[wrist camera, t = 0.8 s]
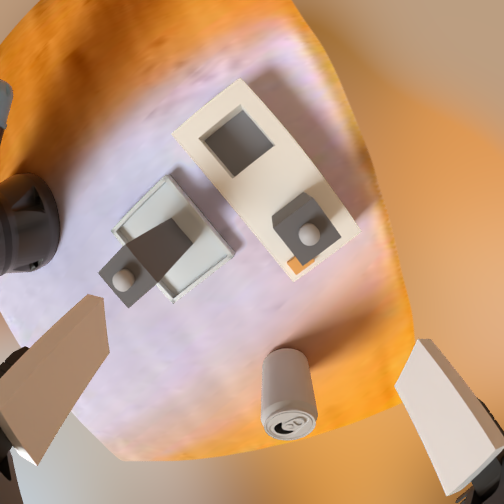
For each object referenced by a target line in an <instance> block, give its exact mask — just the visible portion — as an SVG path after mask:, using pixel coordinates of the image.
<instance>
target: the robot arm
mask: <svg viewBox="0 0 504 504" xmlns="http://www.w3.org/2000/svg"><path fill="white" fill-rule="evenodd" d="M12 100H13V90H12V87H11V86H10V85H9V84H8V83H7V82H5V81H3V80H1V79H0V144H1V140H2V137H3V133H4V129H6V127H7V124H6V122H7V118H8V114H9V110H10V107H11V103H12ZM58 241H59V216H58V210H57V206H56V203H55V200H54V197H53V195H52V193H51V191H50V189H49V187H48V186H47V184H46V183H45V182H44V181H43V180H42V179H41V178H40V177H38V176H37V175H35V174H32V173H22V174H16V175H13V176H11V177H9V178H7V179H6V180H4V181H3V182H1V183H0V276H1V275H3V274H5V273H20V272H32V271H35V270H38V269H39V268H41V267H43V266H45V265H46V264H48V263H49V262H50V260H51V259H52V258H53V256H54V254H55V252H56V249H57V245H58ZM109 353H110V352H109V345H108V337H107V329H106V321H105V311H104V299H103V298H101V297H97V296H93V295H89V294H87V295H86V296H85V297H84V298H83V299H82V300H81V301H80V302H78V303H77V304H76V305H75V306H74V307H73V308H72V309H71V310H70V311H68V312H67V313H66V314H65V315H64V316H63V317H62V318H61V319H60V320H59V321H58V322H56V323H55V324H54V325H53V326H52V327H51V328H50V329H49V330H48V331H47V332H46V333H45V334H44V335H43V336H42V337H41V338H40V339H39V340H38V341H37V342H35V343H34V344H33V345H32V346H31V347H30V348H28V347H26V346H25V347H23V348H21V349H19V350H17V351H15V352H13V353H12V354H11V355H10V356H9V357H8V358H7V359H6V360H5V363H4V362H3V363H2V364H1V365H0V504H23V501H22V497H21V494H20V490H19V486H18V482H17V478H16V473H15V469H14V464H13V459H12V455H11V453H10V451H9V450H10V449H11V447H12V446H13V447H14V448H15V449H16V451H17V452H18V453H19V455H20V456H22V457H23V458H25V459H27V460H28V461H30V462H32V463H33V464H35V465H36V466H38V464H39V463H40V461H41V459H42V457H43V456H44V454H45V452H46V451H47V449H48V447H49V445H50V444H51V442H52V440H53V439H54V437H55V435H56V434H57V432H58V430H59V429H60V427H61V426H62V424H63V422H64V421H65V419H66V418H67V416H68V414H69V413H70V411H71V410H72V408H73V406H74V405H75V403H76V402H77V400H78V399H79V397H80V396H81V394H82V393H83V391H84V390H85V388H86V387H87V385H88V383H89V382H90V380H91V379H92V378H93V376H94V375H95V373H96V372H97V370H98V369H99V367H100V366H101V364H102V363H103V361H104V360H105V358H106V357H107V356H108V354H109ZM395 388H396V390H397V392H398V394H399V396H400V398H401V400H402V402H403V404H404V406H405V407H406V410H407V411H408V413H409V415H410V418H411V419H412V421H413V424H414V426H415V428H416V430H417V432H418V434H419V436H420V438H421V440H422V442H423V444H424V446H425V449H426V451H427V453H428V455H429V457H430V459H431V462H432V464H433V466H434V468H435V471H436V473H437V475H438V477H439V480H440V482H441V484H442V487H443V489H444V492H445V494H446V496H448V495H451V494H453V493H455V492H458V491H460V490H462V489H463V488H464V487H465V486H466V485H467V484H469V482H472V484H473V486H471V487H470V489H468V490H467V491H466V492H465V493H463V494H462V495H461V496H460V497H458V498H457V500H456V503H458V502H459V501H460V500H462V499H463V498H464V497H466V499H464V500H463V501H462V502H461V503H460V504H504V431H503V430H502V428H501V427H500V425H499V424H498V422H497V421H496V420H494V417H493V415H492V414H491V413H490V411H489V410H488V408H487V407H486V405H485V404H484V403H483V402H482V401H481V400H479V399H478V398H477V397H476V396H475V395H474V393H473V392H472V391H471V390H470V388H469V387H468V385H467V384H466V383H465V381H464V380H463V379H462V377H461V376H460V375H459V374H458V373H457V371H456V370H455V369H454V367H453V366H452V365H451V364H450V362H449V361H448V360H447V359H446V357H445V356H444V355H443V354H442V353H441V351H440V350H439V349H438V348H437V346H436V345H435V344H434V343H433V342H432V340H431V339H417V342H416V344H415V346H414V348H413V350H412V352H411V355H410V357H409V359H408V361H407V363H406V365H405V367H404V369H403V371H402V373H401V375H400V377H399V378H398V380H397V382H396V384H395Z"/></svg>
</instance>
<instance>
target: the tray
mask: <svg viewBox="0 0 504 504" xmlns="http://www.w3.org/2000/svg"><path fill="white" fill-rule="evenodd" d="M170 218H172V219H173V220H174V221H175V223H176V224H177V225H178V226H179V227H180V229H181V230H182V231H183V232H184V233H185V234H186V236H187V237H188V238H189V239H190V240H191V242H192V243H193V245H192V246H191V247H190V248H189V249H188V250H187V251H186V252H185V253H184V254H183V255H182V257H181V258H180V259H179V260H178V261H177V262H176V263H175V264H174V265H173V266H172V268H171V269H170V270H169V271H168V272H167V273H166V274H165V275H164V276H163V278H162V279H161V280H160V281H159V282H158V283H157V284H156V286H157V287H158V288H159V289H160V290H161V291H162V292H163V293H164V295H165V296H166V297H167V298H168V299H169V300H170V301H171V302H172V303H173V304H174V303H175V302H176V301H178V300H179V299H180V298H181V297H183V296H184V295H185V294H187V293H188V292H189V291H190V290H192V289H193V288H194V287H196V286H197V285H198V284H199V283H201V282H202V281H203V280H205V279H206V278H207V277H208V276H210V275H211V274H212V273H214V272H215V271H216V270H218V269H219V268H220V267H221V266H223V265H224V264H225V263H227V262H228V261H229V260H230V259H232V258H233V257H234V255H235V252H234V251H233V250H232V248H231V247H230V246H229V245H228V244H227V242H226V241H225V240H224V239H223V238H222V237H221V235H220V234H219V233H218V232H217V231H216V229H215V228H214V227H213V226H212V225H211V223H210V222H209V221H208V220H207V219H206V217H205V216H204V215H203V214H202V213H201V211H200V210H199V209H198V208H197V207H196V205H195V204H194V203H193V202H192V201H191V199H190V198H189V197H188V196H187V195H186V193H185V192H184V191H183V190H182V189H181V187H180V186H179V185H178V184H177V182H176V181H175V180H174V179H173V178H172V176H171V175H165V176H164V177H163V178H162V179H161V180H160V181H159V182H158V183H157V184H156V185H155V186H154V187H153V188H152V189H151V190H150V191H149V192H148V193H147V194H146V195H145V196H144V197H143V198H142V199H141V200H140V201H139V202H138V203H137V204H136V205H135V206H134V207H133V208H132V209H131V210H130V211H129V212H128V213H127V214H126V215H125V216H124V217H123V218H122V219H121V220H120V221H119V222H118V223H117V225H116V226H115V227H114V228H113V229H112V230H111V232H112V233H113V234H114V235H115V237H116V238H117V239H118V240H119V242H120V243H121V244H122V245H123V246H124V245H125V244H127V243H128V242H130V241H132V240H133V239H135V238H137V237H138V236H140V235H142V234H143V233H145V232H147V231H149V230H150V229H152V228H154V227H156V226H157V225H159V224H161V223H163V222H164V221H166V220H168V219H170Z"/></svg>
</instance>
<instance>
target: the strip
mask: <svg viewBox="0 0 504 504" xmlns="http://www.w3.org/2000/svg"><path fill="white" fill-rule="evenodd" d="M171 135H172V136H173V137H174V138H175V139H176V140H177V142H178V143H179V144H180V145H181V146H182V148H183V149H184V150H185V151H186V152H187V154H188V155H189V156H190V157H191V158H192V160H193V161H194V162H195V163H196V164H197V165H198V167H199V168H200V169H201V170H202V171H203V173H204V174H205V175H206V176H207V177H208V179H209V180H210V181H211V182H212V183H213V185H214V186H215V187H216V188H217V190H218V191H219V192H220V193H221V194H222V196H223V197H224V198H225V199H226V200H227V202H228V203H229V204H230V205H231V206H232V208H233V209H234V210H235V211H236V212H237V214H238V215H239V216H240V217H241V219H242V220H243V221H244V222H245V223H246V225H247V226H248V227H249V228H250V230H251V231H252V232H253V233H254V234H255V236H256V237H257V238H258V239H259V241H260V242H261V243H262V244H263V245H264V247H265V248H266V249H267V250H268V252H269V253H270V254H271V255H272V256H273V258H274V259H275V260H276V261H277V263H278V264H279V265H280V266H281V268H282V269H283V270H284V271H285V273H286V274H287V275H288V276H289V277H290V279H291V280H292V281H293V282H295V281H296V280H298V279H299V278H300V277H302V276H303V275H304V274H306V273H307V272H309V271H310V270H311V269H313V268H314V267H315V266H317V265H318V264H320V263H321V262H322V261H324V260H325V259H326V258H328V257H329V256H330V255H332V254H333V253H334V252H336V251H337V250H338V249H340V248H341V247H342V246H344V245H345V244H346V243H348V242H349V241H350V240H352V239H353V238H354V237H355V236H357V235H358V234H359V233H361V232H362V231H361V230H360V228H359V227H358V225H357V224H356V222H355V221H354V219H353V218H352V216H351V215H350V213H349V212H348V211H347V209H346V208H345V206H344V205H343V203H342V202H341V200H340V199H339V198H338V196H337V195H336V193H335V192H334V191H333V189H332V188H331V186H330V185H329V184H328V182H327V181H326V180H325V178H324V177H323V176H322V174H321V173H320V172H319V170H318V169H317V168H316V166H315V165H314V164H313V162H312V161H311V160H310V158H309V157H308V156H307V155H306V153H305V152H304V151H303V150H302V148H301V147H300V146H299V145H298V143H297V142H296V141H295V140H294V138H293V137H292V136H291V135H290V133H289V132H288V131H287V130H286V129H285V127H284V126H283V125H282V124H281V123H280V121H279V120H278V119H277V118H276V117H275V116H274V114H273V113H272V112H271V111H270V110H269V109H268V108H267V106H266V105H265V104H264V103H263V102H262V101H261V100H260V98H259V97H258V96H257V95H256V94H255V93H254V92H253V91H252V90H251V89H250V88H249V86H248V85H247V84H246V83H245V82H244V81H243V80H242V79H241V78H239V79H238V80H236V81H235V82H234V83H232V84H231V85H230V86H228V87H227V88H226V89H224V90H223V91H222V92H221V93H219V94H218V95H217V96H215V97H214V98H213V99H212V100H210V101H209V102H208V103H207V104H205V105H204V106H203V107H202V108H201V109H199V110H198V111H197V112H196V113H195V114H193V115H192V116H191V117H190V118H189V119H188V120H186V121H185V122H184V123H183V124H182V125H181V126H180V127H178V128H177V129H176V130H175V131H174V132H173V133H172V134H171Z"/></svg>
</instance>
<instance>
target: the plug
mask: <svg viewBox="0 0 504 504" xmlns="http://www.w3.org/2000/svg"><path fill="white" fill-rule="evenodd" d="M192 245H193V243H192V242H191V240H190V239H189V238H188V237H187V236H186V234H185V233H184V232H183V231H182V230H181V229H180V227H179V226H178V225H177V224H176V223H175V221H174V220H173V219H172V218H170V219H168V220H166V221H164V222H163V223H161V224H159V225H157V226H156V227H154V228H152V229H150V230H149V231H147V232H145V233H143V234H142V235H140V236H138V237H137V238H135V239H133V240H132V241H130V242H128V243H127V244H125V245H124V246H123V247H122V248H121V249H120V250H119V251H118V252H117V253H116V254H115V255H114V256H113V257H112V259H111V260H110V261H109V262H108V263H107V264H106V265H105V266H104V267H103V268H102V269H101V270H100V271H99V275H100V276H101V277H102V278H103V279H104V281H105V282H106V283H107V284H108V285H109V287H110V288H111V289H112V290H113V291H114V293H115V294H116V295H117V296H118V297H119V298H120V299H121V301H122V302H123V303H124V304H125V305H126V306H127V307H128V308H129V307H131V306H132V305H133V304H134V303H135V302H136V301H137V300H139V299H140V298H141V297H142V296H143V295H144V294H145V293H147V292H148V291H149V290H150V289H151V288H152V287H154V286H155V285H156V284H157V283H158V282H159V281H160V280H161V279H162V278H163V276H164V275H165V274H166V273H167V272H168V271H169V270H170V269H171V268H172V266H173V265H174V264H175V263H176V262H177V261H178V260H179V259H180V258H181V257H182V255H183V254H184V253H185V252H186V251H187V250H188V249H189V248H190V247H191V246H192Z"/></svg>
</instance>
